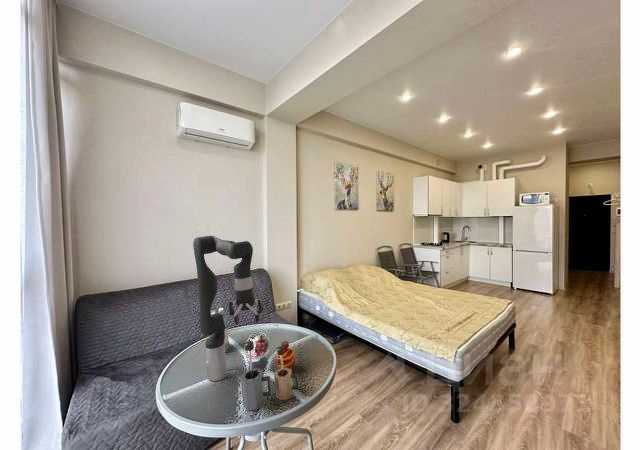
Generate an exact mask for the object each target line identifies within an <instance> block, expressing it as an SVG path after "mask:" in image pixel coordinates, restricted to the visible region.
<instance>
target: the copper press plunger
mask: <svg viewBox="0 0 640 450" xmlns="http://www.w3.org/2000/svg"><path fill="white" fill-rule="evenodd" d="M276 352H277V353H276V355H277V354H278V355H280V358H281V368H282V376H284V368H283V358H282V355H283V354H284V353H285V349H284V346H281V345H280V346H277V348H276ZM281 368H280V369H281Z"/></svg>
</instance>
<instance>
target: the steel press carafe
mask: <svg viewBox="0 0 640 450" xmlns="http://www.w3.org/2000/svg"><path fill="white" fill-rule="evenodd" d="M253 377H254V379H251V371H250V368H249V369H248V370H246V371H244V372H243V373H242V375H241V377H240V384H241V385H240V386H241V394H242V402H243V404H242V405H243V408H244V409H245V410H247V412H250V411H257V410H259V409H261V408H262V407H263V406H265V404H266V403H265V402H266V400H267V399H266V397H272V393H273V392H272V382H271V375H270V376H269V375H268V376H264V371H263V370H262V369H261V368H259V367H257V368H253ZM265 382H267V391H266V388H265Z"/></svg>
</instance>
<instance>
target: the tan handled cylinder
mask: <svg viewBox="0 0 640 450" xmlns="http://www.w3.org/2000/svg"><path fill="white" fill-rule="evenodd" d="M273 375H274V376H273V377H274V389H275V397H276V398H277V399H278V400H280V401H287V400H288V399H290V398H292V397H293V395H294V390H295V391H297V390H298V391H299V389H300V388H299V387H300V385H299V383H300V382H299V374H298V373H293V370H292V371H291V370H290V369H288V368H284V376H282V368H279V369H277V370H275V372H274V374H273ZM293 379H295V385H294V383H293Z"/></svg>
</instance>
